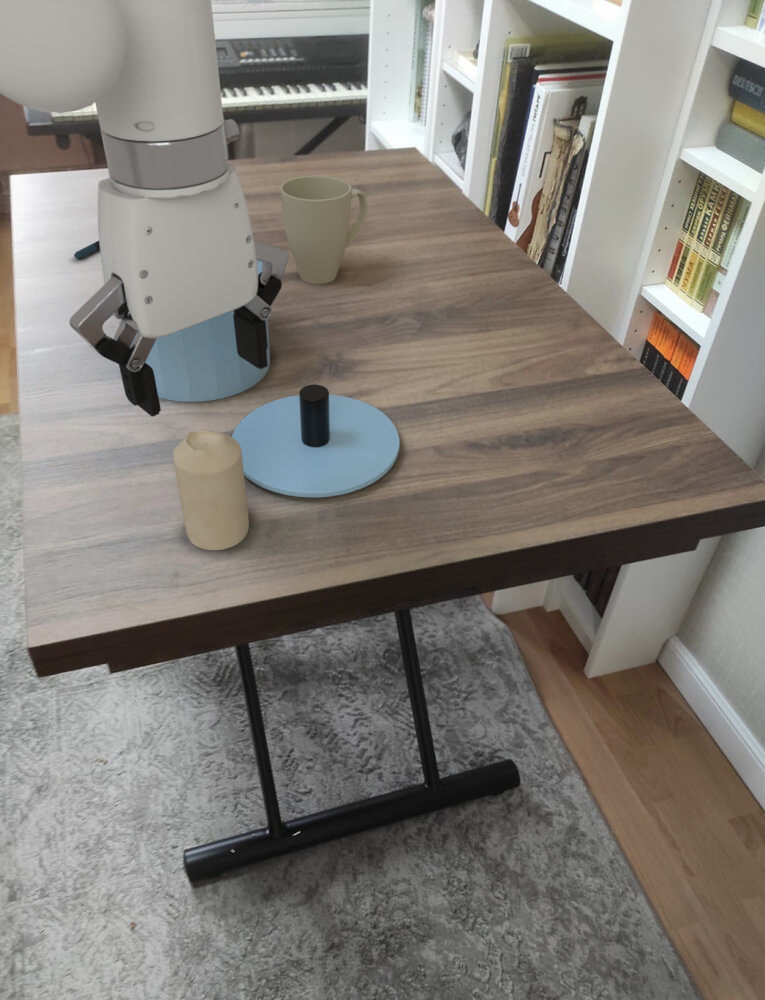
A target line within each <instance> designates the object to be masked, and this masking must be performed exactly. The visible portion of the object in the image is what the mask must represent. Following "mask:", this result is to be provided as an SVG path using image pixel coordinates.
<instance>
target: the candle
mask: <svg viewBox="0 0 765 1000" xmlns="http://www.w3.org/2000/svg"><path fill="white" fill-rule="evenodd" d="M172 461H173V467H174V472H175V479H176V483H177V489H178V495H179V501H180V507H181V513H182V518H183V524H184V529H185V533H186V537H187V539H188V540H189V542H190V543H191V544H192V545H194V546H195V547H197V548H199V549H202V550H206V551H222V550H227V549H229V548H232V547H234V546H236V545H238V544H240V543H241V542H243V540H244V539H245V538H246V536H247V535H248V533H249V528H250V519H249V510H248V509H249V508H248V501H247V490H246V481H245V476H244V471H243V461H242V452H241V447H240V444H239V443H238V442H237V441H236V440H235V439H234V438H232V436H230V435H228V434H225V433H223V432H220V431H213V430H202V429H201V430H197V431H190V432H189V433H188V434H187V435H186V436H185V437H184V438H183V439H182V440H181V441H180V442H179V443H178V444H177V445H176V446H175V448H174V449H173V452H172Z"/></svg>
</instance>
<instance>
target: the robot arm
mask: <svg viewBox="0 0 765 1000" xmlns="http://www.w3.org/2000/svg"><path fill="white" fill-rule="evenodd" d="M215 34H216V33H215V23H214V15H213V5H212V0H0V95H1V96H4V97H5V98H7V99H8V100H11V101H12V102H14V103H16V104H18V105H20V106H23V107H25V108H28V109H30V110H35V111H39V112H43V113H51V114H54V113H55V114H65V113H71V112H77V111H80V110H82V109H85V108H87V107H90V106H92V105H93V104H95V108H96V114H97V118H98V123H99V128H100V135H101V139H102V144H103V149H104V154H105V155H104V156H105V159H106V164H107V165H106V166H107V170H108V173H109V174H108V175H109V177H107V178H104V179H102V180H100V181H98V186H97V230H98V231H97V232H98V241H99V244H100V249H99V253H100V260H101V269H102V276H103V281H104V284H103V285H102V287H101V288H100V289H99V290H97V291H96V292H95V293H94V294H93V295H92V296H91V297H90V298H89V299H88V300H87V301H86V302H85V303H84V304H83V305H82V306H81V307H80V308H79V309H78V310H77V311H75V312H74V313H73V315H72V316H71V317H70V318H69V321H68V322H69V325H70V327H71V328H72V330H74V331H75V332H76V334H78V335H79V337H80V338H82V340H83V341H84V342H85V343H86V344H87V345H88V346H89V347H90V348H91V349H92V350H94V351H95V352H96V353H98V355H100V356H101V357H103V358H104V359H106V360H108V361H111V362H113V363H115V364H117V365H118V367H119V372H120V376H121V381H122V385H123V390H124V394H125V397H126V398H127V401H129V402H130V404H132V405H133V406H138V407H139V408H141V410H142V411H144V412H145V413H147V414H148V415H149V416H150V417H156V416H157V415H159V414H160V412H161V411H162V409H161V403H160V398H159V397H158V392H157V387H156V382H155V377H154V372H153V369H152V367H150V366H149V365H148V364H146V363H145V362H146V360H147V358H148V356H149V354H150V351H151V349H152V347H153V345H154V343H155V341H156V339H157V338H160V337H164V336H167V335H170V334H173V333H175V332H178V331H181V330H183V329H186V328H189V327H191V326H194V325H197V324H199V323H202V322H204V321H207V320H210V319H212V318H215V317H217V316H220V315H223V314H225V313H228V312H230V311H233V310H234V315H233V318H234V327H235V336H236V345H237V353H238V355H239V356H240V357H241V358H243V359H244V360H246V361H247V362H249V363H250V364H252V365H254V366H255V367H257V368H260V369H263V368H265V367H267V366H268V363H267V351H266V350H267V348H268V345H267V333H266V322H265V320H267V319H268V320H269V319H270V318H271V317H272V313H273V309H272V304H273V303H274V301H275V300H276V298H277V296H278V295H279V293H280V291H281V289H282V287H283V282H282V278H283V277H284V274H285V271H286V269H287V264H288V261H289V258H290V254H289V252H288V251H287V250H285V249H283V248H282V247H279V246H277V245H274V244H272V243H271V244H270V243H267V242H263V241H260V240H256V239H254V233H253V227H252V223H251V222H252V221H251V218H250V217H251V216H250V213H249V209H248V203H247V201H246V197H245V193H244V190H243V186H242V184H241V181H240V178H239V175H238V172H237V169H236V168H235V166H234V165H233V163H230V162H229V159H230V156H229V146H228V145H229V144H230V143H231V142H234V141H237V140H239V137H240V129H239V126H238V124H237V122H236V121H235V120H234V119H233V118H230V119H226V118H225V117H224V111H223V101H222V91H221V83H220V82H221V81H220V72H219V64H218V63H219V62H218V54H217V53H218V52H217V44H216V35H215ZM257 261H261V262H263V266H262V272H261V273H260V274H259V275H258V268H257ZM237 308H238V309H237ZM112 316H113V317H114V318H115V319H116V320H119V319H122V321H121V323H120V322H119V326H118V327H117V329H116V331H115V334H114V336H113V338H112V337H110V336H108V335H107V334H106V332H105V331H104V330H103V328H104V327H103V326H104V324H105V323H106V322H107V321H108V320H109V319H110V318H111V317H112ZM137 332H138V334H137ZM136 334H137V336H136ZM135 336H136V338H135ZM134 339H135V340H134ZM133 341H134V342H133ZM132 343H133V344H132ZM131 345H132V346H131ZM130 347H131V348H130Z"/></svg>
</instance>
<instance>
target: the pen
mask: <svg viewBox="0 0 765 1000" xmlns="http://www.w3.org/2000/svg"><path fill="white" fill-rule="evenodd" d="M98 250H100V244H99V240H97V241H95V242H93V243H91V244H88V245H87V246H85V247H83V248H81V249H79V250H77V251H76V252H75V253H74V254H73V256H74V259H76V260H81V259H83V258H85V257H86V256H88V255H90V254H92V253H94V252H97V251H98Z"/></svg>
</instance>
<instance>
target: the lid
mask: <svg viewBox="0 0 765 1000" xmlns="http://www.w3.org/2000/svg"><path fill="white" fill-rule="evenodd" d="M298 392H299V393H298V394H297V395H292V396H291V395H290V396H286V397H282V398H279V399H275V400H271V401H270V402H268V403H264V404H263V405H261V406H259V407H256V409H254V410H252V411H251V412H249V413H248V414H247V415H246V416H244V417H243V418H242V419H241V420H240V422H238V424H237V425H236V427H235V429H234V430H233V433H232V435H231V437H232V438H234V439H235V440H236V441H237V442H238V443H239V444H240V447H241V452H242V461H243V471H244V477H245V478H247V479H248V480H249V481H251V482H252V483H254V484H255V485H257V486H259V487H261V488H263V489H265V490H268V491H271V492H273V493H277V494H281V495H285V496H290V497H297V498H327V497H329V498H330V497H336V496H342V495H346V494H349V493H353V492H356V491H359V490H361V489H364V488H366V487H368V486H370V485H372V484H374V483H376V482H377V481H378V480H380V479H381V478H382V477H384V476H385V475H386V474H388V472H389V471H390V470H391V469H392V468H393V466H394V464H395V463H396V461H397V459H398V456H399V454H400V446H401V443H400V441H401V440H400V436H399V435H400V434H399V432H398V429H397V427H396V426H395V424H394V422H393V421H392V420H391V419H390V418H389V417H388V416H387V415H386V414H385V413H384V412H383V411H381V410H380V409H378V408H377V407H376V406H373V405H372V404H369V403H367V402H365V401H362V400H359V399H356V398H353V397H348V396H344V395H340V394H339V395H337V394H330V391H329V389H328V388H327V387H325V386H324V385H322V384H315V383H314V384H313V383H312V384H308V385H304V386H303V387H301V388H300V390H299V391H298Z"/></svg>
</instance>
